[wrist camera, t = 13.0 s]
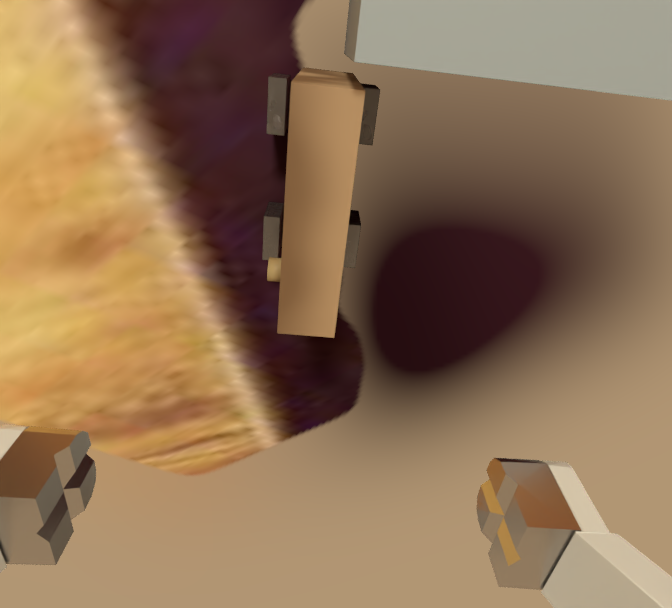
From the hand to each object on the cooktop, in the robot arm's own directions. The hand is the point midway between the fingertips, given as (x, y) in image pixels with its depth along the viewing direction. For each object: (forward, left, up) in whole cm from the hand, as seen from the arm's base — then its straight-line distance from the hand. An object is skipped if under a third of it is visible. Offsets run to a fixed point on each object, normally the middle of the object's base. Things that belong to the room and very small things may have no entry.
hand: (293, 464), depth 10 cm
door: (0, 0, -25) cm, 25 cm away
